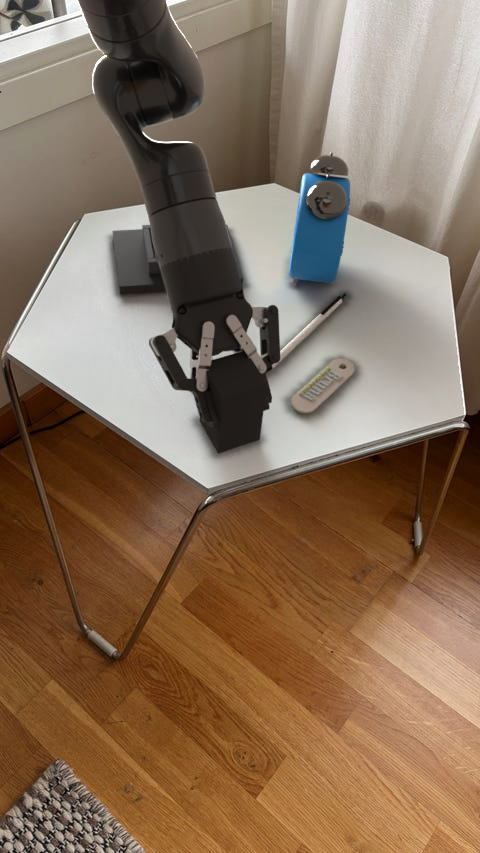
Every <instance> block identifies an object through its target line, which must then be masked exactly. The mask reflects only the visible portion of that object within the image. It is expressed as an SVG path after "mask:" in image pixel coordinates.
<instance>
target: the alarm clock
mask: <svg viewBox="0 0 480 853" xmlns="http://www.w3.org/2000/svg"><path fill="white" fill-rule="evenodd" d="M309 172H310V173H309ZM311 172H313V173H311ZM316 173H317V174H316ZM344 176H345V177H344ZM348 176H349V167H348V165H347V163H346V161H345V160H344V159H342V158H341V157H339V156H337V155H334V153H333V152H329V154H322V155H319V156H317V157H315V158H314V159H313V160H312V161H311V163H310V164H309V167H308V172H307V173H304V174H303V175H302V177H301V181H300V189H299V194H298V195H299V196H298V201H297V202H298V203H297V208H296V216H295V224H294V232H293V237H292V238H293V239H292V245H291V252H290V253H291V254H290V260H289V261H290V262H289V268H288V269H289V270H288V275H289V278H291V279H293V286H296V285H297V281H298V280H302V281H309V282H310V281H311V282H316V283H317V282H319V283H325V284H333V283H334V282H335V280H336V278H337V275H338V271H339V267H340V263H341V259H342V256H343V252H344V247H345V246H344V245H345V236H346V230H347V229H346V228H347V223H348V222H347V221H348V215H349V211H350V205H351V204H350V202H351V180H350V179H349V178H347V177H348Z"/></svg>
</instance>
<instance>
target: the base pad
mask: <svg viewBox="0 0 480 853" xmlns="http://www.w3.org/2000/svg"><path fill="white" fill-rule="evenodd" d="M226 226H227V230H228V234H229V237H230V241H231V245H232V249H233V253H234V256H235V260H236V264H237V268H238V272H239V275H240V279H241V283H242V285H243V283H244V277H243V273H242V271H241V266H240V264H239V260H238V256H237V254H236V250H235V246H234V243H233V240H232V236H231V233H230V229H229V225H228V224H226ZM141 227H142V228H140V229H138V228H137V229H118V230H112V241H113V249H114V256H115V257H114V258H115V264H116V265H115V266H116V273H117V274H116V275H117V281H118V290H119V295H125V294H139V293H152V292H153V293H155V292H166V288H165V285H164V281H163V278H162V274H161V271H160V267H159V264H158V262H157V260H156V257H155V249H154V245H153V241H152V235H151V228H150V224H142V226H141Z"/></svg>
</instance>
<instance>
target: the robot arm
mask: <svg viewBox="0 0 480 853" xmlns="http://www.w3.org/2000/svg"><path fill="white" fill-rule="evenodd" d="M76 1H77V4H78V6H79V10H80V12H81V14H82V18H83V19H84V22H85V24H86V27H87V29H88V32H89V34H90V37H91V39H92V41H93V42H94V44H95V46H96V47H97V49H98V50H99V51H100V52H101V53H102V54H103V56H102V57H100V59H98V61H97V62H96V63H95V66H94V68H93V72H92V78H91V79H92V91H93V94H94V98H95V101H96V103H97V105H98V107H99V109H100V111H101V112H102V115H103V116H104V118H105V119H106V121H107V123H108V124H109V126H110V128H111V129H112V131H113V132H114V134H115V135H116V137H117V139H118V140H119V142H120V144H121V146H122V148H123V150H124V151H125V153H126V155H127V158H128V159H129V160H128V161H129V162H130V163H131V166H132V169H133V172H134V174H135V177H136V179H137V183H138V186H139V189H140V192H141V196H142V200H143V203H144V207H145V210H146V214H147V217H148V222H149V225H150V228H151V235H152V241H153V245H154V249H155V257H156V260H157V262H158V264H159V267H160V271H161V274H162V278H163V281H164V285H165V288H166V291H165V292H166V295H167V299H168V302H169V306H170V309H171V310H170V311H171V313H172V323H171V328H170V329H168V330H167V331H165V332H163V333H161V334H159V335H155V336H152V337H151V338H149V340H148V345H149V348H150V349H151V351H152V352H153V354H154V357H155V358H156V360H157V362H158V364H159V365H160V367H161V370H162V371H163V373H164V375H165V376H166V378H167V381H168V382H169V384H170V385H171V387H172V389H173V390H174V391H184V392H185V391H186V392H190V393H191V394H192V395H193V398H194V402H195V405H196V410H197V412H198V416H199V420H200V419H201V420H202V422H204V423H207V424H208V426H209V427H215V426H218V425H220V422H219V418H218V415H217V411H216V407H215V404H214V400H213V396H212V393H211V390H208V377H207V373H206V371H207V370H209V369H210V367H211V360H213V357H215V356H219V355H220V354H222V353H223V352H232V354H234V353H238V352H241V353H242V354H244V355H245V356H246V357H247V358H251V359H252V361H253V362H254V364H255V365H256V367H257V368H258V370H259V371H260V373H261V374H262V376H263V377H264V379H265V380H266V382H267V390H266V397H265V404H264V412H265V411H268V410H270V404H272V402H273V395H272V392H271V388H270V384H269V381H268V377H267V373H268V372H267V369H268V368H269V367H270V366H272V365H273V364H274V363H278V362H279V361H280V351H281V342H280V341H281V340H280V337H281V336H280V317H279V316H280V314H279V308H278V306H277V305H275V304H271V305H265V306H252V305H251V303H250V302H249V301H248V300H247V298H246V297H245V293H244V288H243V284H242V283H241V279H240V275H239V272H238V268H237V264H236V260H235V256H234V253H233V249H232V245H231V241H230V237H229V234H228V230H227V226H228V225H227V223H226V220H225V217H224V215H223V212H222V211H221V207H220V206H219V202H218V199H217V194H216V190H215V187H214V182H213V179H212V175H211V173H210V168H209V165H208V161H207V157H206V155H205V152H204V150H203V149H202V148H203V147H201V146H200V145H199V144H198V143H195V142H191V141H158V140H154V139H152V138H150V137H149V136H147V135H146V134H145V132H144V129H147V128H151V127H155V126H158V125H161V124H165V123H168V122H172V121H175V120H178V119H183V118H187V117H188V116H190V115H192V114H194V113H195V112H196V111H197V110H198V109H199V108H200V106H201V105H202V103H203V102H204V98H205V95H206V78H205V73H204V70H203V67H202V65H201V62H200V60H199V58H198V56H197V54H196V53H195V51H194V48H193V47H192V46H191V44H190V43H189V41H188V40H187V38H186V37H185V35H184V34H183V32H182V31H181V30H180V28H179V27H178V25H177V23H176V21H175V19H174V18H173V16H172V14H171V11H170V9H169V8H170V7H169V4H168V2H167V0H76ZM226 225H227V226H226ZM252 319H253V321H254V324H255V326H256V327H257V328H259V346H260V347H259V348H260V354H259V353H258V351H257V350H258V349H257V347H256V345H255V343H254V342H253V341H252V339H251V338H250V336H249V335H248V333H247V332H248V329H249V327H250V323H251V321H252ZM176 339H178V340H179V341H181V342H182V344H184V345H185V346H187V347H188V348H189V349H190V354H189V355H190V357H189V368H190V375H189V378H188V376H187V375H186V373H185V371H184V369H183V367H182V365H181V363H180V361H179V360H178V358H177V357H176V356H177V355H175V352H176V350H177V344H176ZM280 362H281V361H280ZM280 362H279V363H280ZM279 363H278V364H279ZM266 372H267V373H266Z"/></svg>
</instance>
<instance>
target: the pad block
mask: <svg viewBox="0 0 480 853" xmlns="http://www.w3.org/2000/svg"><path fill="white" fill-rule="evenodd" d="M206 373H207V377H208V390H211V393H212V396H213V400H214V404H215V407H216V411H217V415H218V418H219V422H220V425H218V426H215V427H209V426H208V424H207V423H204V422H202V420H201V419H200V418H199V419H198V420H199V422H200V424H201V426H202V428H203V430H204V431H205V433H206V435H207V436H208V439H209V440H210V442H211V444H212V445H213V447H214V449H215V451H216V452H217V454H222V453H224V452H227V451H230V450H233V449H236V448H239V447H242V446H245V445H247V444H251V443H254V442H257V441H260V440H261V433H262V425H263V418H264V412H265V411H264V404H265V397H266V390H267V382H266V380H265V379H264V377H263V376H262V374H261V373H260V371H259V370H258V368H257V367H256V365H255V364H254V362H253V361H252V359H251V358H247V357H246V356H245V355H244V354H242V353H241V352H238V353H232V354H228V355H224V356H220V357H217V358H214V359H212V360H211V367H210V369H209V370H207V371H206Z"/></svg>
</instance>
